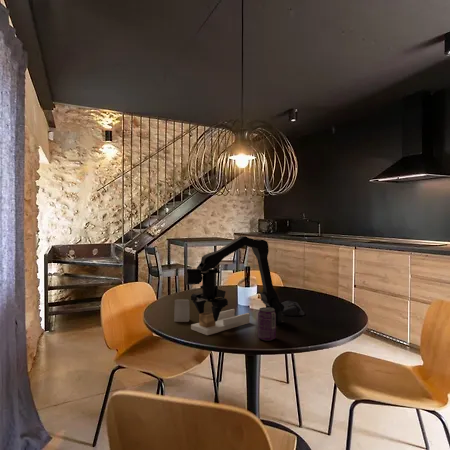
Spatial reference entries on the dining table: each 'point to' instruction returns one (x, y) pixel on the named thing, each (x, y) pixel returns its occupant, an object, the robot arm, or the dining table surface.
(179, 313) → the grey box
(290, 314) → the dark slate chunk
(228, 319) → the trap channel
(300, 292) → the dining table surface
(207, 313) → the oak block
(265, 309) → the beverage can
